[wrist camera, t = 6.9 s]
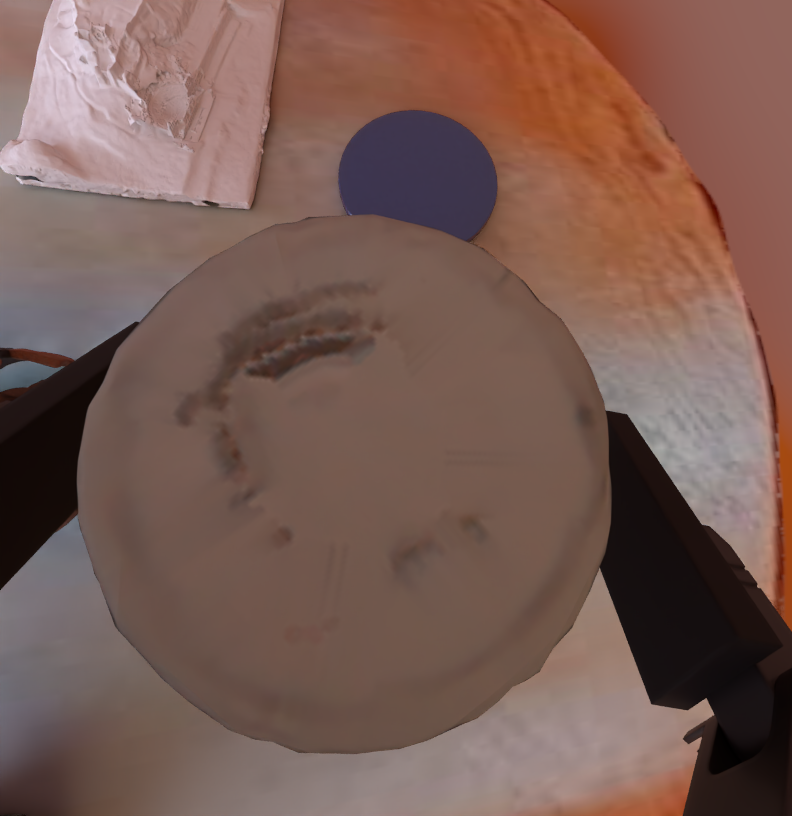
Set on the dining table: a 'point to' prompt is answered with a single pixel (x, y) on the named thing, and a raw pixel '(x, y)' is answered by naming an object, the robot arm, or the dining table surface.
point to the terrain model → (150, 99)
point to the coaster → (419, 173)
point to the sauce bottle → (346, 484)
